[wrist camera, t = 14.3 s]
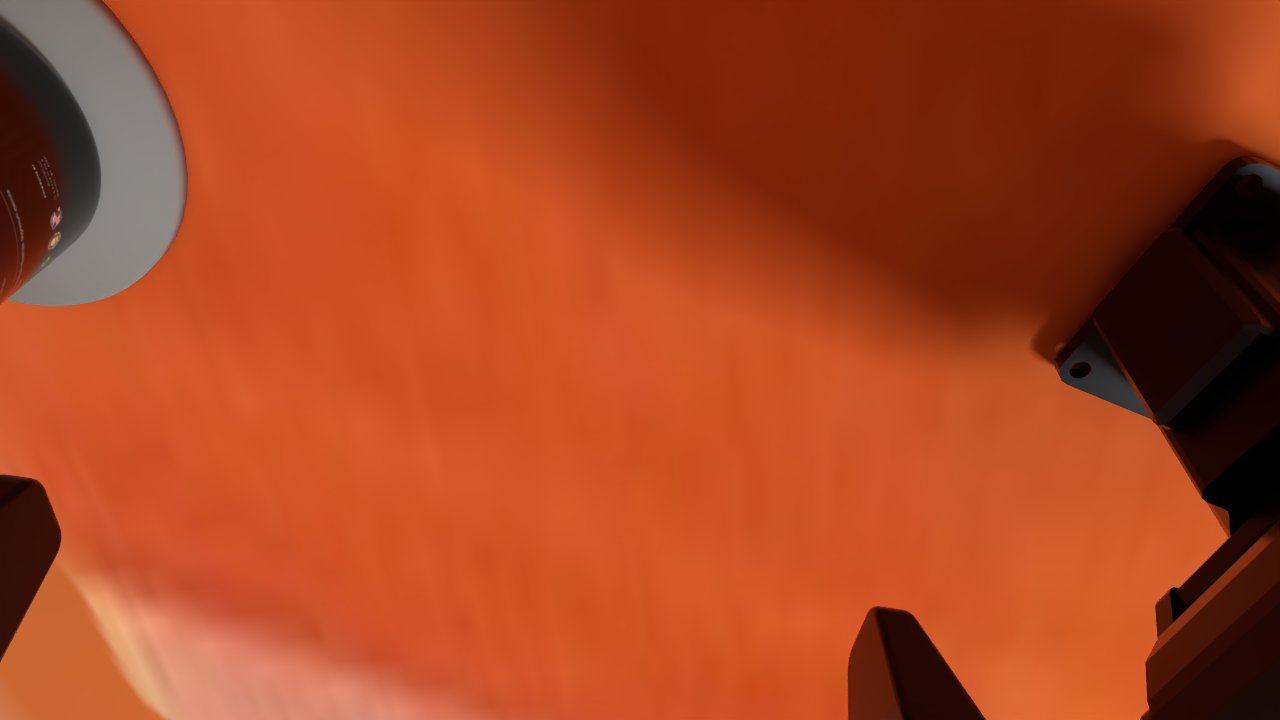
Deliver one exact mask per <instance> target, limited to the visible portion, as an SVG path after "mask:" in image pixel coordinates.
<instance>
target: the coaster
mask: <svg viewBox="0 0 1280 720" xmlns="http://www.w3.org/2000/svg"><path fill="white" fill-rule="evenodd" d="M0 22H2V23H3V24H5V25H6V26H7V27H9V28H10V29H12V30H13V31H14V32H15V33H17V34H18V35H19V36H20V37H22V38H23V39H24V40H25V41H26V42H27V43H28V44H30V45H31V46H32V47H33V48H34V49H35V50H36V51H37V52H38V53H39V54H40V55H41V56H42V57H43V58H44V59H45V60H46V61H47V62H48V63H49V64H50V65H51V67H52V68H53V69H54V70H55V71H56V72H57V74H58V75H59V76H60V77H61V79H62V80H63V81H64V83H65V84H66V85H67V87H68V88H69V89H70V91H71V92H72V94H73V96H74V97H75V99H76V100H77V102H78V103H79V105H80V107H81V109H82V111H83V113H84V115H85V116H86V119H87V121H88V123H89V125H90V128H91V130H92V133H93V136H94V139H95V142H96V145H97V149H98V153H99V158H100V165H101V194H100V199H99V203H98V207H97V209H96V212H95V215H94V217H93V219H92V221H91V222H90V224H89V226H88V228H87V229H86V230H85V231H84V233H83V234H82V235H81V236H80V237H79V238H78V239H77V240H76V241H75V242H74V243H73V244H72V245H71V246H70V247H69V248H68V249H66V250H65V251H64V252H63V253H62V254H61V255H59V256H58V257H57V258H56V259H55V260H54V261H53V262H51V263H50V264H49V265H48V266H47V267H46V268H44V269H43V270H42V271H41V272H40V273H38V274H37V275H36V276H35V277H33V278H32V279H31V280H30V281H29V282H27V283H26V284H25V285H24V286H22V287H21V288H20V289H19V290H18V291H16V292H15V293H14V294H13V295H12V296H10V297H9V298H8V299H7V300H9V301H14V302H19V303H23V304H33V305H43V306H70V305H77V304H84V303H90V302H94V301H97V300H100V299H104V298H107V297H110V296H112V295H114V294H116V293H118V292H120V291H122V290H124V289H126V288H128V287H129V286H131V285H132V284H133V283H135V282H136V281H137V280H139V279H140V278H141V277H142V276H144V275H145V274H146V273H147V272H148V271H149V270H150V269H151V268H152V267H153V266H154V265H155V264H156V263H157V262H158V261H159V260H160V259H161V258H162V257H163V255H164V254H165V253H166V252H167V251H168V249H169V247H170V246H171V244H172V242H173V241H174V239H175V237H176V236H177V233H178V230H179V228H180V225H181V222H182V220H183V216H184V211H185V205H186V200H187V166H186V158H185V150H184V146H183V142H182V138H181V134H180V131H179V127H178V123H177V120H176V118H175V115H174V113H173V110H172V108H171V105H170V102H169V100H168V97H167V95H166V93H165V91H164V89H163V87H162V85H161V83H160V81H159V79H158V78H157V76H156V74H155V72H154V70H153V68H152V66H151V65H150V63H149V62H148V60H147V59H146V57H145V56H144V54H143V52H142V51H141V49H140V48H139V46H138V45H137V43H136V42H135V40H134V39H133V38H132V36H131V35H130V34H129V33H128V31H127V30H126V29H125V27H124V26H123V25H122V24H121V22H120V21H119V20H118V19H117V17H116V16H115V15H114V13H113V12H112V11H111V10H110V9H109V8H108V7H107V6H106V5H105V4H104V3H103V2H102V1H101V0H0Z"/></svg>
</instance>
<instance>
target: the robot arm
mask: <svg viewBox="0 0 1280 720" xmlns="http://www.w3.org/2000/svg"><path fill="white" fill-rule="evenodd" d="M1250 174H1253V178H1252V180H1251V181H1250V182H1249V183H1248V184H1247V185H1245V186H1244V187H1240V188H1236V185H1237V184H1238V182H1239V180H1240V179H1242V178H1243V177H1244V176H1246V175H1250ZM1079 362H1085V364H1084V365H1083V366H1081V367H1080V368H1077V369H1071V367H1072V366H1073V365H1075V364H1076V363H1079ZM1055 368H1056V370H1057V372H1058V374H1059V376H1060V378H1061V380H1062V381H1063V382H1064V383H1066V384H1067V385H1070V386H1072V387H1075V388H1077V389H1080V390H1082V391H1084V392H1087V393H1089V394H1092V395H1094V396H1097V397H1099V398H1101V399H1104V400H1106V401H1109V402H1111V403H1114V404H1116V405H1118V406H1121V407H1123V408H1126V409H1128V410H1131V411H1133V412H1135V413H1138V414H1140V415H1143V416H1145V417H1148V418H1150V419H1152V421H1153V422H1154V423H1155V424H1156V425H1158V427H1159V428H1160V430H1161V432H1162V433H1163V435H1164V437H1165V438H1166V440H1167V442H1168V443H1169V445H1170V446H1171V448H1172V450H1173V451H1174V453H1175V455H1176V456H1177V458H1178V460H1179V461H1180V463H1181V465H1182V466H1183V468H1184V469H1185V471H1186V473H1187V474H1188V476H1189V478H1190V479H1191V481H1192V483H1193V484H1194V486H1195V488H1196V489H1197V491H1198V492H1199V494H1200V496H1201V497H1202V499H1204V500H1205V501H1206V502H1207V503H1208V505H1209V507H1210V508H1211V510H1212V512H1213V513H1214V515H1215V516H1216V518H1217V520H1218V521H1219V523H1220V525H1221V526H1222V528H1223V530H1224V531H1225V533H1226V534H1227V536H1228V539H1227V540H1226V541H1225V542H1224V543H1223V544H1222V545H1221V546H1220V547H1219V548H1218V550H1217V551H1216V552H1215V553H1214V554H1213V555H1212V556H1211V557H1210V558H1209V559H1208V560H1207V561H1206V562H1205V563H1204V564H1203V565H1202V566H1201V567H1200V568H1199V569H1198V570H1197V571H1196V572H1195V573H1194V574H1193V575H1192V576H1191V577H1190V578H1189V579H1188V580H1187V581H1186V582H1185V583H1184V584H1183V585H1182V586H1181V587H1180V588H1175V587H1173V588H1171V589H1170V590H1169V591H1168V592H1167V593H1166V594H1165V595H1164V596H1163V597H1162V598H1161V599H1160V600H1159V601H1158V602H1157V603H1156V606H1155V608H1156V622H1157V636H1158V640H1157V641H1156V643H1155V645H1154V647H1153V649H1152V651H1151V653H1150V655H1149V657H1148V659H1147V661H1146V682H1147V702H1148V705H1149V710H1148V711H1146V712H1145V713H1144V714H1143V715H1142V717H1141V718H1140V720H1280V168H1279V167H1277V166H1275V165H1273V164H1270V163H1268V162H1266V161H1264V160H1262V159H1260V158H1258V157H1253V156H1244V157H1239V158H1237V159H1235V160H1232V161H1230V162H1229V163H1228V164H1227V165H1225V166H1224V167H1223V168H1222V169H1221V170H1220V171H1219V172H1218V173H1217V175H1216V176H1215V177H1214V178H1213V179H1212V180H1211V181H1210V183H1209V184H1208V185H1207V186H1206V187H1205V188H1204V189H1203V190H1202V192H1201V193H1200V194H1199V195H1198V196H1197V197H1196V198H1195V200H1194V201H1193V202H1192V203H1191V204H1190V205H1189V206H1188V208H1187V209H1186V210H1185V211H1184V212H1183V213H1182V214H1181V215H1180V217H1179V218H1178V219H1177V220H1176V221H1175V222H1174V223H1173V225H1172V226H1171V227H1170V228H1169V229H1168V230H1167V231H1166V232H1164V233H1162V234H1161V235H1160V236H1159V237H1158V238H1157V240H1156V241H1155V242H1154V243H1153V244H1152V245H1151V246H1150V248H1149V249H1148V250H1147V251H1146V252H1145V253H1144V254H1143V256H1142V257H1141V258H1140V259H1139V260H1138V261H1137V262H1136V264H1135V265H1134V266H1133V267H1132V268H1131V269H1130V270H1129V272H1128V273H1127V274H1126V275H1125V276H1124V277H1123V278H1122V279H1121V281H1120V282H1119V283H1118V284H1117V285H1116V286H1115V287H1114V289H1113V290H1112V291H1111V292H1110V293H1109V294H1108V295H1107V297H1106V298H1105V299H1104V300H1103V301H1102V302H1101V303H1100V305H1099V306H1098V307H1097V308H1096V309H1095V310H1094V312H1093V316H1092V317H1091V318H1090V319H1089V320H1088V321H1087V322H1086V324H1085V325H1084V326H1083V327H1082V328H1081V329H1080V330H1079V332H1078V333H1077V334H1076V335H1075V336H1074V337H1073V338H1072V339H1071V341H1070V342H1069V343H1068V344H1067V345H1066V346H1065V347H1064V349H1063V350H1062V351H1061V352H1060V353H1059V354H1058V356H1057V358H1056V359H1055ZM60 543H61V530H60V526H59V524H58V521H57V519H56V516H55V513H54V511H53V508H52V506H51V503H50V501H49V498H48V495H47V493H46V490H45V488H44V486H43V485H42V484H41V483H40V482H39V481H37V480H35V479H32V478H25V477H19V476H12V475H0V662H1V660H2V658H3V656H4V654H5V652H6V650H7V648H8V647H9V645H10V643H11V641H12V639H13V637H14V635H15V633H16V631H17V629H18V628H19V626H20V624H21V622H22V619H23V618H24V616H25V614H26V612H27V610H28V609H29V606H30V605H31V603H32V601H33V599H34V597H35V595H36V593H37V591H38V589H39V588H40V586H41V584H42V582H43V580H44V578H45V576H46V574H47V572H48V570H49V568H50V567H51V565H52V563H53V561H54V559H55V557H56V555H57V553H58V550H59V547H60ZM848 720H986V719H985V718H984V716H983V715H982V713H981V712H980V710H979V709H978V708H977V706H976V705H975V703H974V702H973V700H972V699H971V697H970V696H969V695H968V693H967V692H966V690H965V689H964V687H963V686H962V684H961V683H960V682H959V680H958V679H957V677H956V676H955V674H954V673H953V671H952V670H951V669H950V667H949V666H948V664H947V663H946V661H945V660H944V659H943V657H942V656H941V654H940V653H939V651H938V650H937V648H936V647H935V646H934V644H933V643H932V641H931V640H930V638H929V637H928V635H927V634H926V633H925V631H924V630H923V628H922V627H921V625H920V624H919V622H918V621H917V620H916V618H915V617H914V616H913V615H912V614H911V613H909V612H908V611H905V610H900V609H893V608H887V607H880V606H875V607H873V608H871V609H870V610H869V612H868V613H867V615H866V618H865V620H864V622H863V625H862V627H861V629H860V631H859V634H858V636H857V638H856V641H855V643H854V645H853V647H852V650H851V653H850V657H849V663H848Z"/></svg>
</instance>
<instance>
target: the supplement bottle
mask: <svg viewBox="0 0 1280 720" xmlns="http://www.w3.org/2000/svg"><path fill="white" fill-rule="evenodd" d="M100 194H101V165H100V158H99V153H98V149H97V145H96V142H95V139H94V136H93V133H92V130H91V128H90V125H89V123H88V121H87V119H86V116H85V115H84V113H83V111H82V109H81V107H80V105H79V103H78V102H77V100H76V99H75V97H74V96H73V94H72V92H71V91H70V89H69V88H68V87H67V85H66V84H65V83H64V81H63V80H62V79H61V77H60V76H59V75H58V74H57V72H56V71H55V70H54V69H53V68H52V67H51V65H50V64H49V63H48V62H47V61H46V60H45V59H44V58H43V57H42V56H41V55H40V54H39V53H38V52H37V51H36V50H35V49H34V48H33V47H32V46H31V45H30V44H28V43H27V42H26V41H25V40H24V39H23V38H22V37H20V36H19V35H18V34H17V33H15V32H14V31H13V30H12V29H10V28H9V27H7V26H6V25H5V24H3V23H2V22H0V305H1V304H2V303H3V302H4V301H5V300H7V299H8V298H9V297H10V296H12V295H13V294H14V293H15V292H16V291H18V290H19V289H20V288H21V287H22V286H24V285H25V284H26V283H27V282H29V281H30V280H31V279H32V278H33V277H35V276H36V275H37V274H38V273H40V272H41V271H42V270H43V269H44V268H46V267H47V266H48V265H49V264H50V263H51V262H53V261H54V260H55V259H56V258H57V257H58V256H59V255H61V254H62V253H63V252H64V251H65V250H66V249H68V248H69V247H70V246H71V245H72V244H73V243H74V242H75V241H76V240H77V239H78V238H79V237H80V236H81V235H82V234H83V233H84V231H85V230H86V229H87V228H88V226H89V224H90V222H91V221H92V219H93V217H94V215H95V212H96V209H97V207H98V203H99V199H100Z"/></svg>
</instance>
